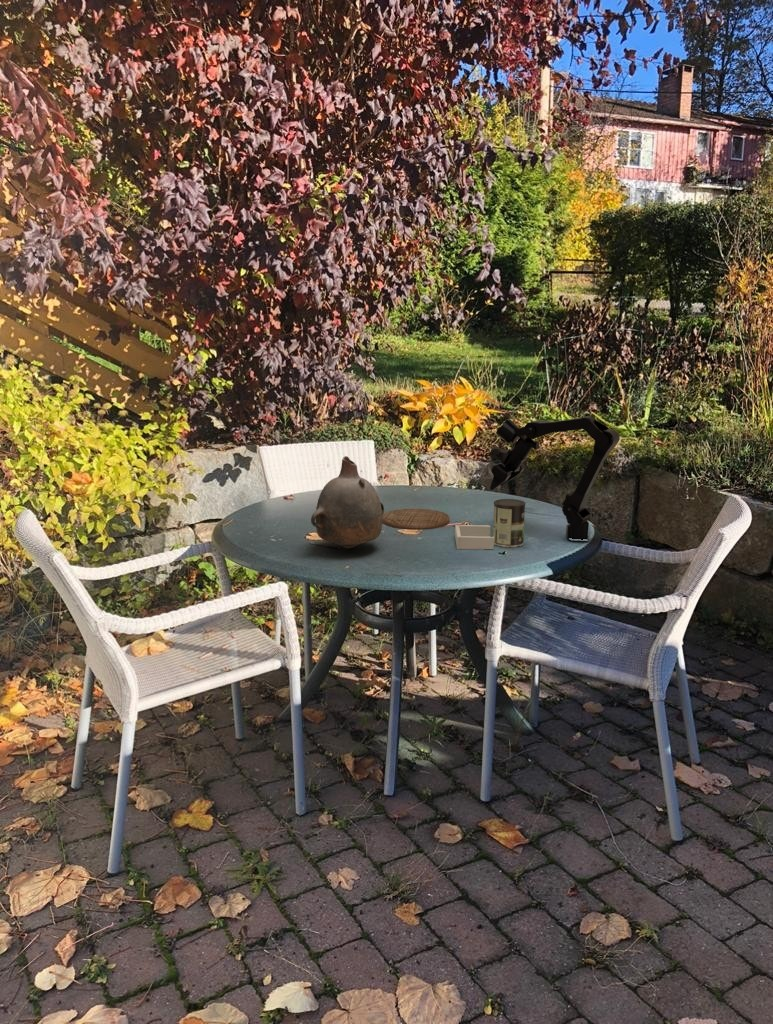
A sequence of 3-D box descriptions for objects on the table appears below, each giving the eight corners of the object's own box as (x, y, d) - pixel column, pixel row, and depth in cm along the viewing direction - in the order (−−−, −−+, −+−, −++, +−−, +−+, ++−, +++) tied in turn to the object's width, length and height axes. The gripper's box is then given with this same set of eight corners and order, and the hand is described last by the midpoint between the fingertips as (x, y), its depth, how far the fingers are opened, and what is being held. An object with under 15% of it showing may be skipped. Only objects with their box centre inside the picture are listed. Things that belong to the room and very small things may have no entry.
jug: (358, 563, 242) (357, 466, 235) (300, 553, 252) (298, 460, 245) (396, 544, 263) (397, 454, 255) (341, 535, 273) (340, 448, 265)
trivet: (444, 532, 278) (444, 527, 278) (375, 528, 283) (375, 523, 282) (453, 515, 302) (453, 510, 301) (388, 511, 307) (388, 507, 306)
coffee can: (522, 539, 268) (523, 498, 265) (525, 548, 258) (527, 506, 255) (491, 538, 269) (492, 498, 266) (493, 547, 259) (494, 505, 256)
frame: (489, 536, 271) (490, 525, 270) (493, 549, 257) (494, 537, 256) (455, 536, 272) (455, 525, 271) (456, 549, 257) (457, 537, 256)
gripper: (510, 434, 284) (487, 469, 291) (491, 441, 268) (467, 478, 275) (535, 453, 281) (511, 487, 288) (517, 461, 265) (492, 497, 272)
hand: (495, 487), depth 281 cm, fingers open, 9 cm apart
